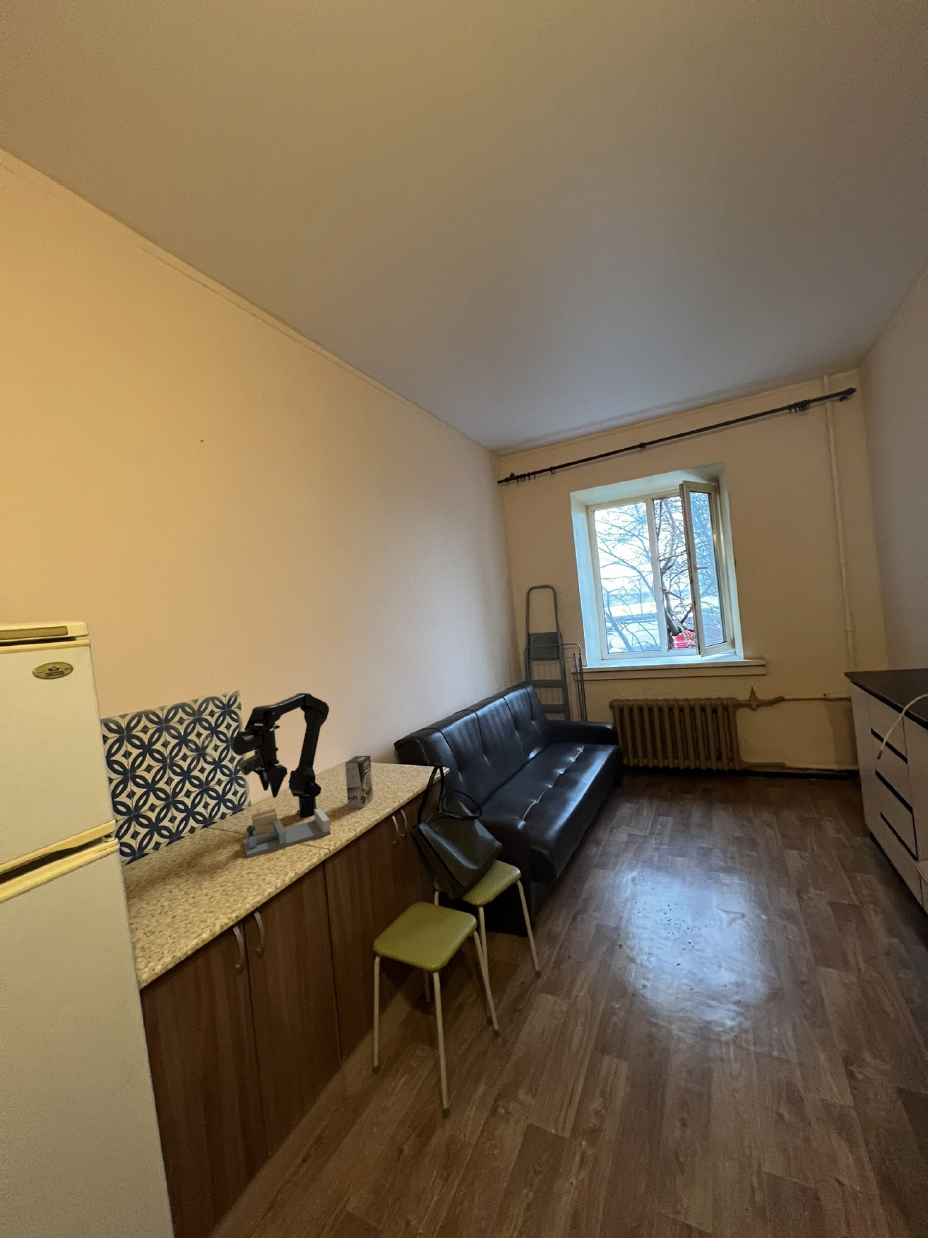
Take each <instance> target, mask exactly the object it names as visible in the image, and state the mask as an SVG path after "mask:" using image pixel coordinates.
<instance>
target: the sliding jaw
mask: <svg viewBox="0 0 928 1238" xmlns="http://www.w3.org/2000/svg"><path fill="white" fill-rule="evenodd" d="M284 828H285V826H284V825H283V823H282V821H281V819H280V818H277V819H276V820H273V829H274V833H270V834H266V835H263V836H259V837H256V834H255V832H254V831H255V826H254V825H252V824H249V825H248V826H247V827H246V839H247V842H248V845H249V848H253V847H257V844H258V843H261V842H265V841H268V840H272V839H276V838H277V839H278V841H279V844H282V843H285V842H287V839H286V831H285V829H284Z"/></svg>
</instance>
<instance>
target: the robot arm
mask: <svg viewBox="0 0 928 1238" xmlns="http://www.w3.org/2000/svg"><path fill="white" fill-rule="evenodd" d="M297 709H300V711H302V712H303V719H304V722H305V723H306V726H305V732H304V736H303V741H302V746H301V751H300V755H299V761H298V766H297V767H296V768H295V770H291V771H290V774H289V779H288V781H287V783H288V789H289V791H290V792H291V794H292V797H298V807H299V808H298V810H297V811H296V813H297V814H298V816H299V817H300V818H305V817H308V816H311V815H315V812H314V809H318V807H317V799H316V797H319V796H320V795H321V792H322V787H321V786H320V785H319V784H318V783H317V782H316V778H317V777H316V773H315V770H314V763H315V758H316V753H317V748H318V742H319V737H320V732H321V728H322V726H323V725H324V724H325V722H326V721H327V719H328V716H329V712H330V706H329V705H328V703H327V701H326V702H325V701H323V700H322V699H320V698H318V697H316V696H314V695H312V694H311V693H309V692H298V693H296V694H295V695H293V696H290V697H288V698H285V699H283V700H280V701H278V702H275V703H273V704H266V705H264V704H263V705H259V706H255V707H253V708H252V710H251V713H250V715H249V718H248V720H247V722H246V725H245V727H244V728H243V729H244V730H242V731H237V733H236V735H237V736H236V737H235V738H234V740H233V743H232V747H233V748H232V749H233V750H234V752H235V753H236V754H237V755H240V756H242V755H245V754H248V753H250V752H254V754H253V755H252V756H249V757H247V758H246V759H244V760H243V761H240V762H239V763H238V764H237V766H238V768H239V770H240V772H241V774H243V776H249V775H250V774H251V773H252V772H254V773H255V774H257V775H258V779H259V781H260V783H261V786H262V790H263V792H266V791H268V790H269V787H270V792H271V794H272V795H271V796H272V798H273V799H274V798H277V797H278V795H279V792H280V789H281V787H282V783H283V782H284V780H285V778H286V776H287V775H288V768H287V767H286V766H285V765H282V764H280V760H279V759H278V754H277V752H279V747H278V746H277V743H276V730H277V729H280V728H281V727H280V725H279V724H277V723H276V722H278V721H279V720H280V719H281V717H282V716H283V715H285V714H287V713H290V712H292V711H294V710H297Z"/></svg>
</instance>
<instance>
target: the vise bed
mask: <svg viewBox="0 0 928 1238" xmlns="http://www.w3.org/2000/svg"><path fill="white" fill-rule="evenodd" d="M314 812H315V814H314V820H310V821H306V822H303V823H300V824H295V825H292V826H288V827H284V829H285V831H286V839H287V842H285V843H282V844H279V841H278V839H277V838H276V839H272V840H268V841H265V842H261V843H258V844H257V847H253V848H249V845H248V842H247V838H244V839H242V844H243V849H244V850H245V855H246V858H247V859H248V858H252V857H255V856H259V855H262V854H263V855H264V854H266V853H269V852H272V851H277V850H279V849H283V848H287V847H290V846H294V845H297V844H300V843H301V844H302V843H304V842H307V841H310V840H314V839H318V838H321V837H326V836H328V835H331V824H330V818H329V816H327V814H326V813H325V812H324V811H323V809H322V808H321V807H319V808H318V807H317V809H314ZM270 833H274V831H273V832H269V833H265V834H261V835H258V836H256V837H259V836H263V835H266V834H270Z"/></svg>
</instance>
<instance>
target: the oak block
mask: <svg viewBox="0 0 928 1238" xmlns="http://www.w3.org/2000/svg"><path fill="white" fill-rule="evenodd" d="M276 819H278V814H277V810H276V809H275V808H272V809H271V808H270V809H267V810H262V811H258V812H255V813H252V814H251V823H252V824H251V825H254V826H255V831H254V832H255V834H256V836H258V835H261V834H265V833H269V832H273V831H274V829H273V820H276Z"/></svg>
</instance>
